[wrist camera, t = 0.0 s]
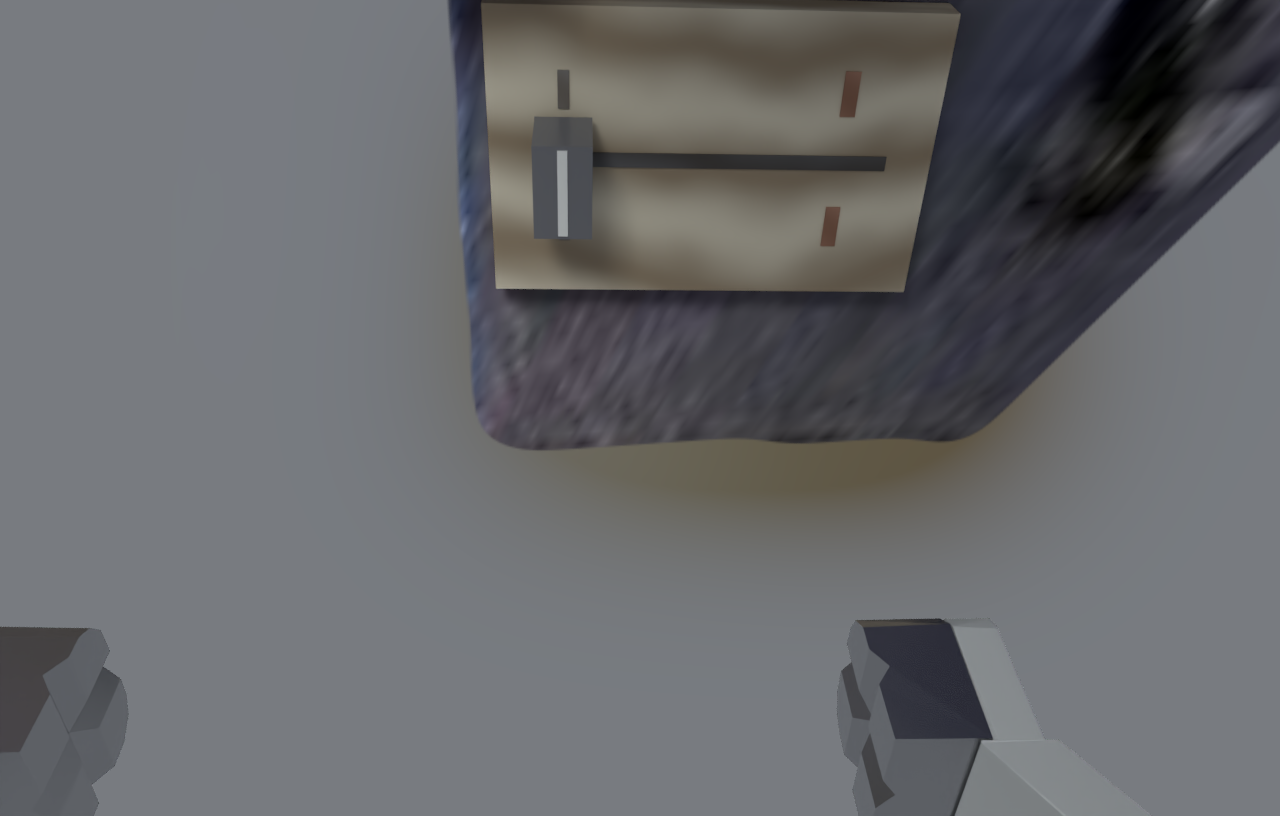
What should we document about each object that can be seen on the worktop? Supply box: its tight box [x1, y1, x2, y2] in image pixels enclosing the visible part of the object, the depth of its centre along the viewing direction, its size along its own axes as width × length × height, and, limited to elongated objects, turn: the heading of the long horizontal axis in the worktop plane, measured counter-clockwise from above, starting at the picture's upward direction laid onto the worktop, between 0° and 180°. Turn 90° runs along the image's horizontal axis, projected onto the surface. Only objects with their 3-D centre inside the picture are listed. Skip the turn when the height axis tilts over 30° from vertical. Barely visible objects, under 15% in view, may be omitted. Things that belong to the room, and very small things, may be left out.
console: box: [481, 0, 961, 292], centre depth 58 cm, size 16×24×2 cm, turn 88°
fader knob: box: [531, 117, 593, 239], centre depth 55 cm, size 5×3×4 cm, turn 178°
